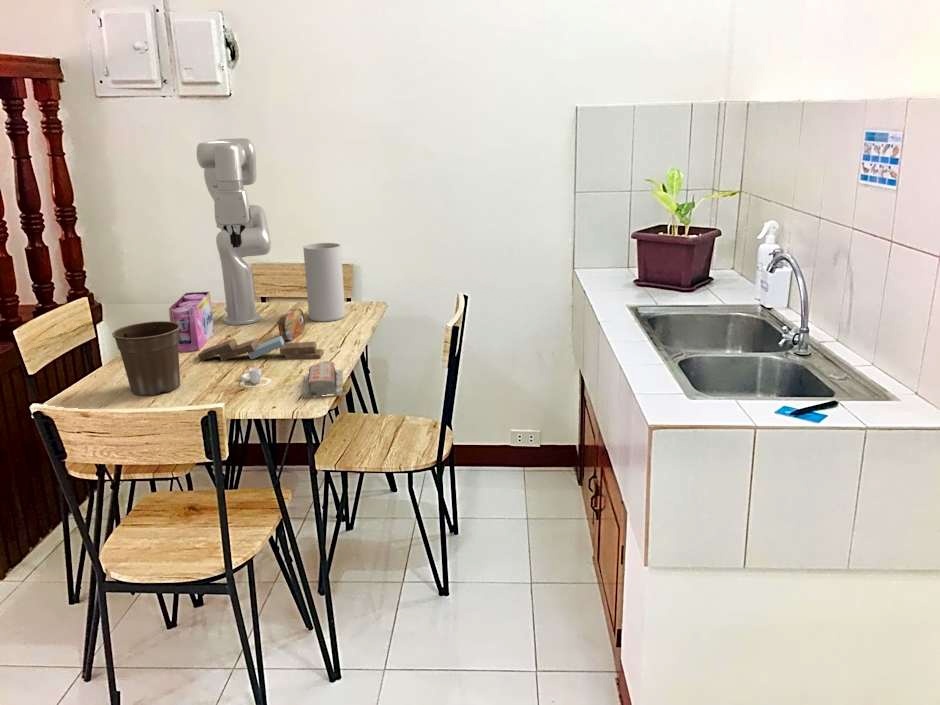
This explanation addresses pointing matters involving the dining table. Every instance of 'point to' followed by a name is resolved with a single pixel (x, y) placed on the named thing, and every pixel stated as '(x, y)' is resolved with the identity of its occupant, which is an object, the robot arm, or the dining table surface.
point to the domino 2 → (240, 350)
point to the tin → (291, 324)
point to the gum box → (193, 320)
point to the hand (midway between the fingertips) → (236, 246)
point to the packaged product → (323, 380)
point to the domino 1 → (217, 349)
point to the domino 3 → (267, 347)
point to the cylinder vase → (324, 281)
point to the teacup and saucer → (253, 377)
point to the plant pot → (150, 356)
